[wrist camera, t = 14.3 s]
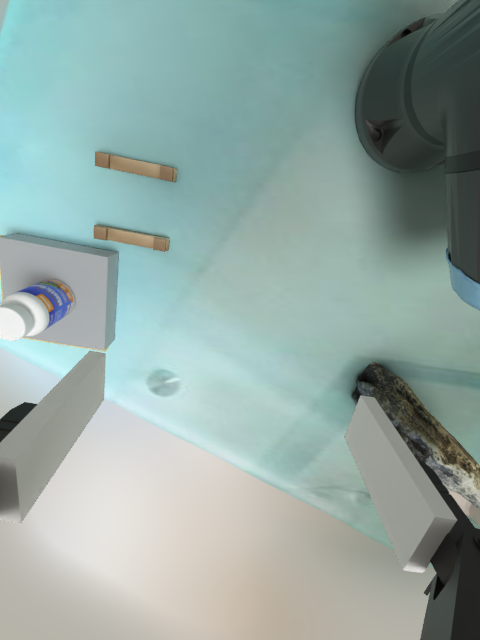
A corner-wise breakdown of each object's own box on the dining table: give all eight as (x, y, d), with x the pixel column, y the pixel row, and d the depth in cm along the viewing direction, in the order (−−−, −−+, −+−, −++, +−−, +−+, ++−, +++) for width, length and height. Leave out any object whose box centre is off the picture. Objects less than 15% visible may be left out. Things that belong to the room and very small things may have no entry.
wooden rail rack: (99, 153, 40) (93, 151, 38) (177, 169, 41) (174, 168, 39) (97, 236, 44) (92, 237, 42) (168, 249, 44) (166, 251, 43)
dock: (16, 232, 44) (-4, 236, 40) (119, 252, 45) (108, 256, 41) (23, 324, 49) (5, 335, 45) (114, 340, 50) (104, 351, 46)
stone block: (337, 389, 53) (390, 491, 35) (377, 353, 51) (457, 443, 32) (405, 443, 58) (484, 559, 39) (445, 412, 55) (550, 522, 37)
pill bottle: (82, 292, 43) (40, 317, 34) (66, 323, 44) (22, 354, 35) (44, 270, 42) (-10, 290, 32) (29, 302, 43) (-26, 330, 34)
